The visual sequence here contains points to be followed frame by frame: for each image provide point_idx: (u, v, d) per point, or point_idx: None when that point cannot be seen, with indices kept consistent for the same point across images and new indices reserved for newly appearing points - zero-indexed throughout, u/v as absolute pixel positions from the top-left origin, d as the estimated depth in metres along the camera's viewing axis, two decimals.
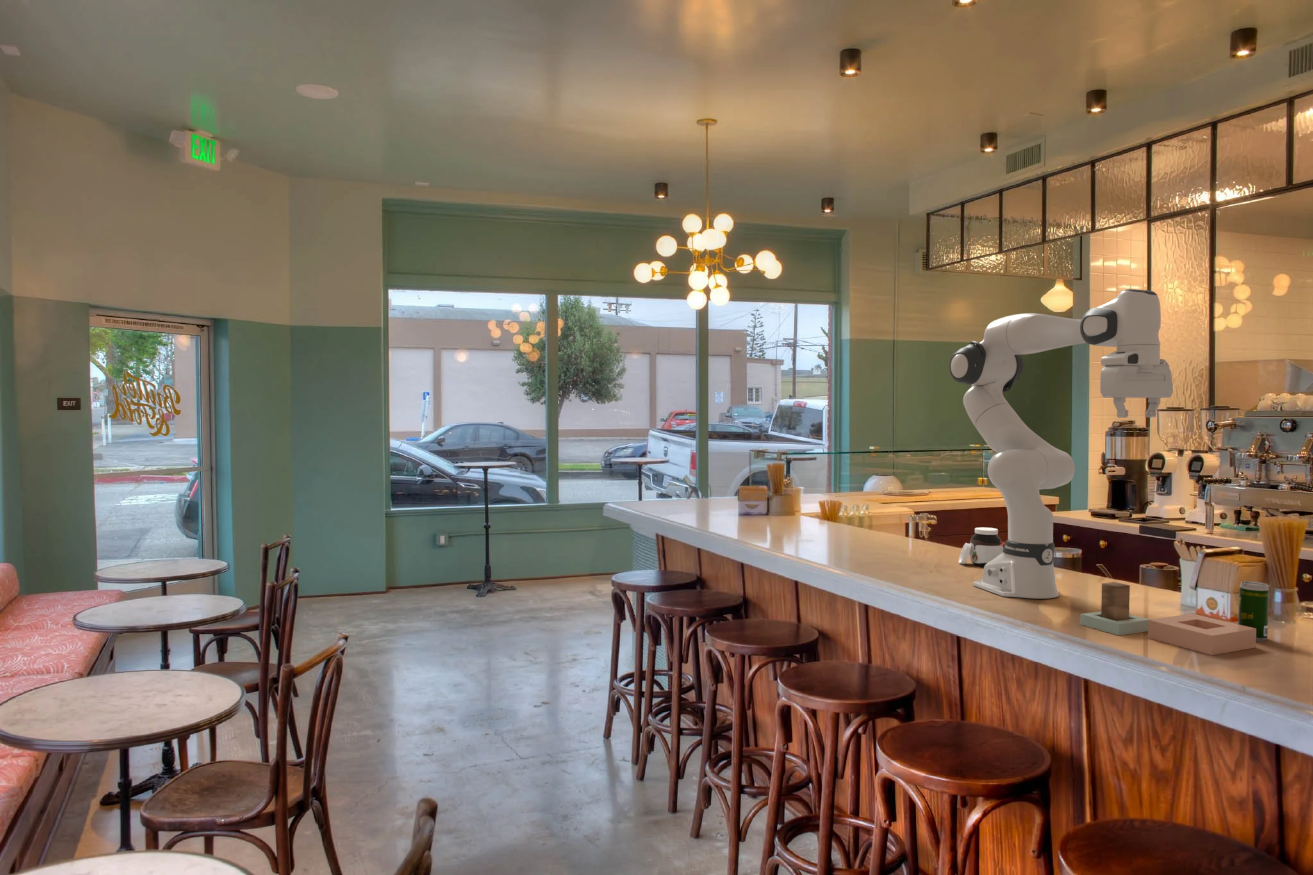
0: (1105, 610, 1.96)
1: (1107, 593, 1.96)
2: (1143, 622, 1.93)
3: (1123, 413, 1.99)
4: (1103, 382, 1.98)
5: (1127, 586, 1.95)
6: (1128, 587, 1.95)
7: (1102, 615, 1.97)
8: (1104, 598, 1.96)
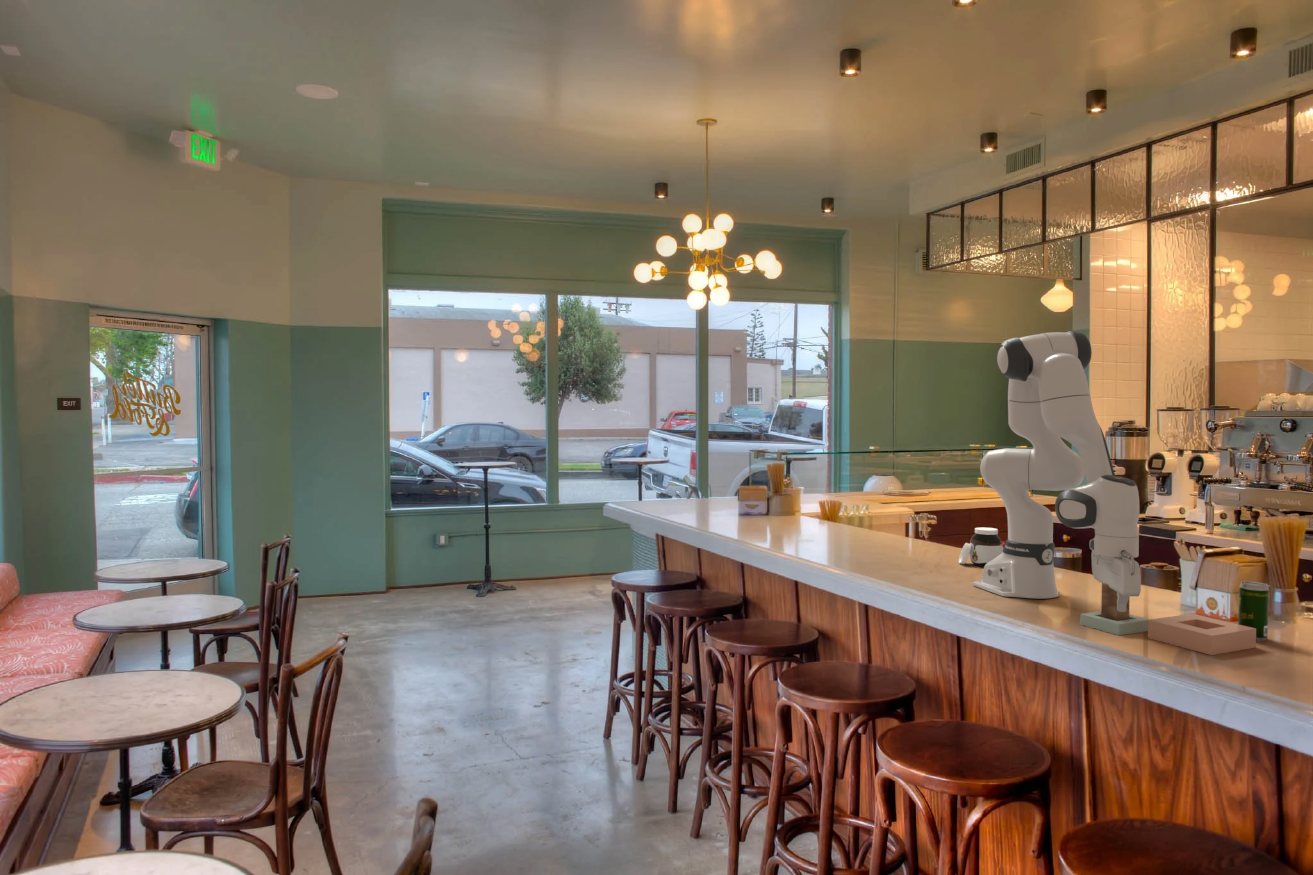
0: (1105, 610, 1.96)
1: (1107, 593, 1.96)
2: (1143, 622, 1.93)
3: None
4: None
5: None
6: None
7: (1102, 615, 1.97)
8: (1104, 598, 1.96)
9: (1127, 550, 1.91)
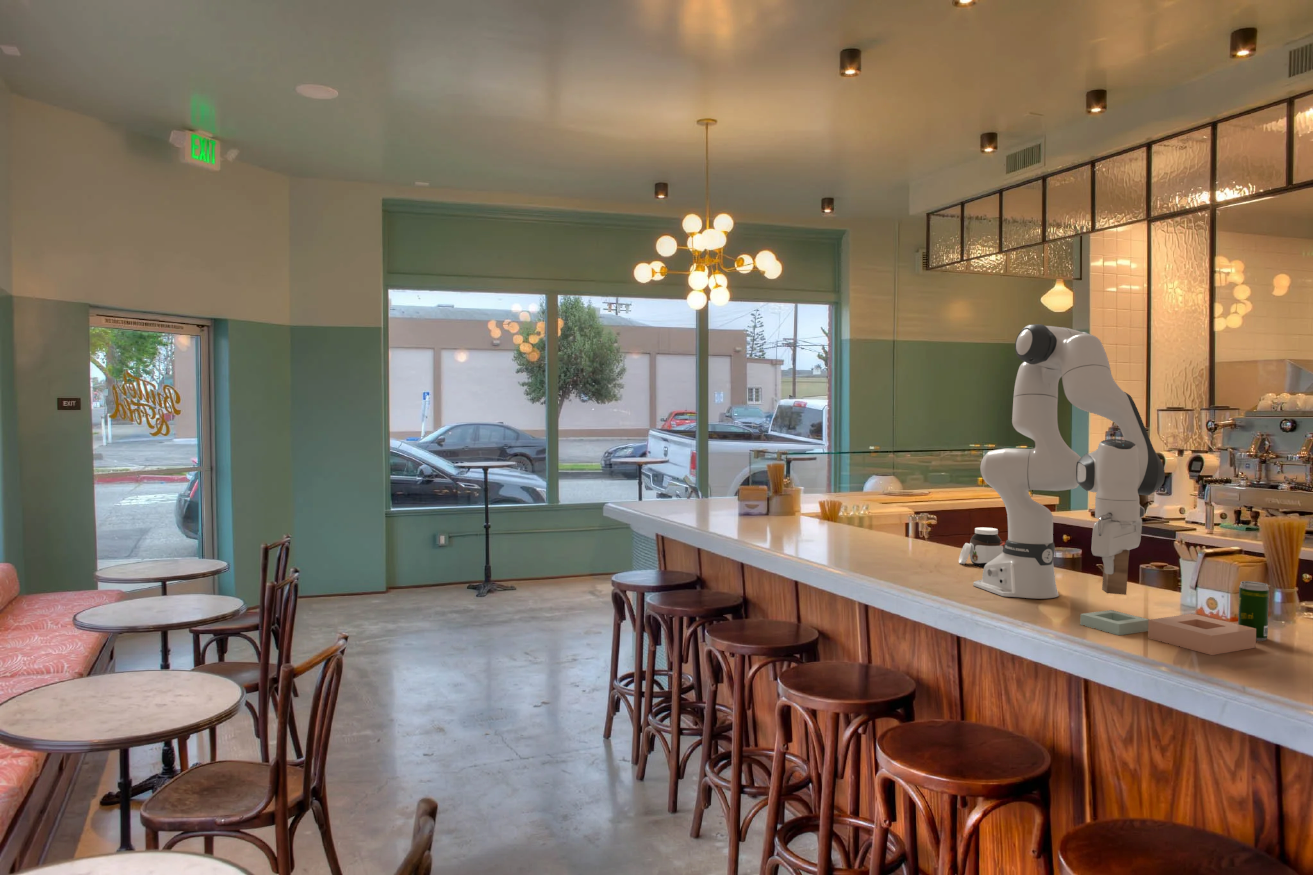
0: (1104, 573, 1.97)
1: None
2: (1143, 622, 1.93)
3: None
4: None
5: (1125, 551, 1.93)
6: (1126, 552, 1.93)
7: (1103, 578, 1.98)
8: None
9: (1113, 513, 1.92)
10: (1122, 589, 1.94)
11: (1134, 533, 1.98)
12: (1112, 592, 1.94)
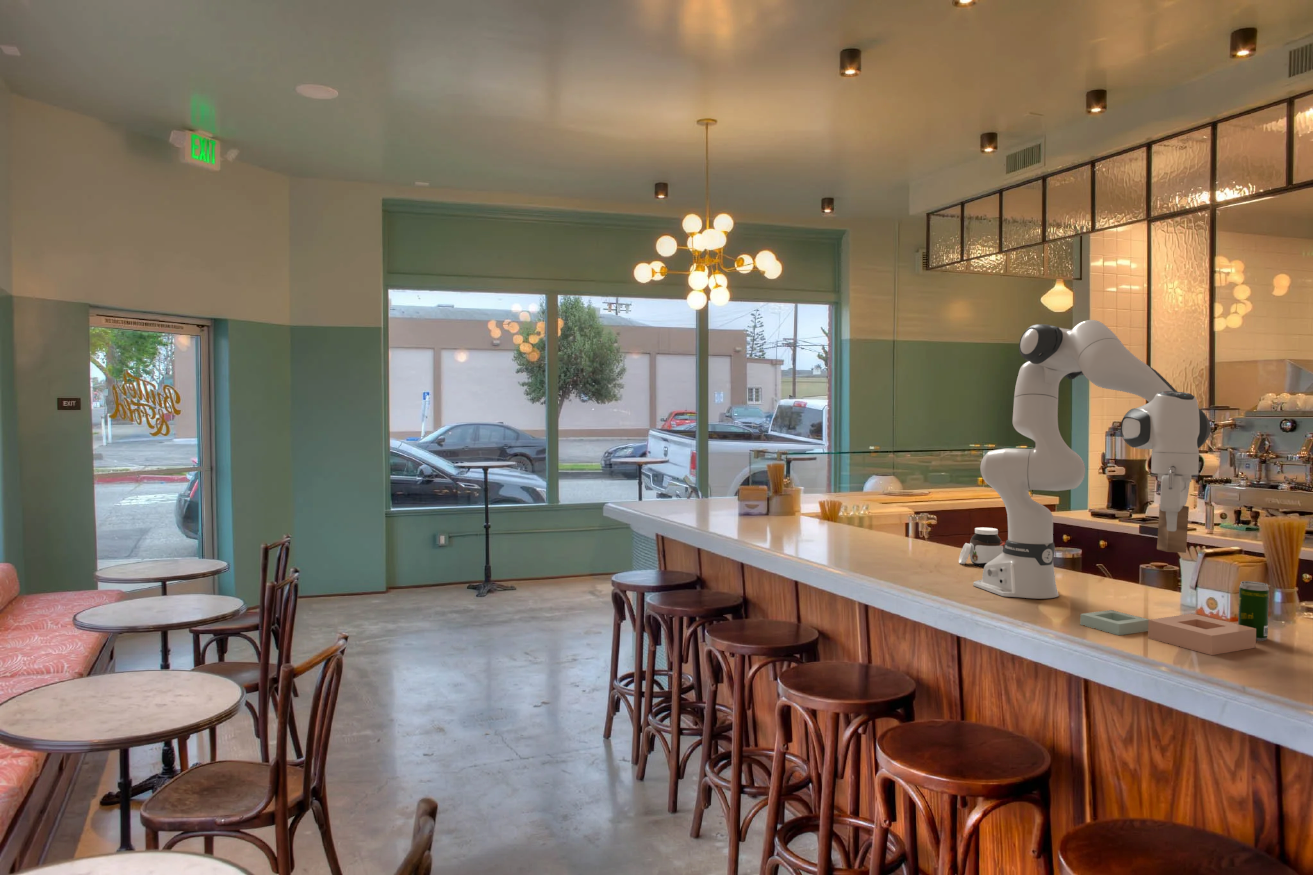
0: (1160, 531, 1.88)
1: (1163, 513, 1.88)
2: (1143, 622, 1.93)
3: None
4: None
5: (1185, 507, 1.85)
6: (1186, 508, 1.85)
7: (1158, 537, 1.89)
8: (1160, 519, 1.89)
9: (1177, 466, 1.83)
10: (1182, 547, 1.85)
11: (1185, 490, 1.91)
12: (1172, 550, 1.85)
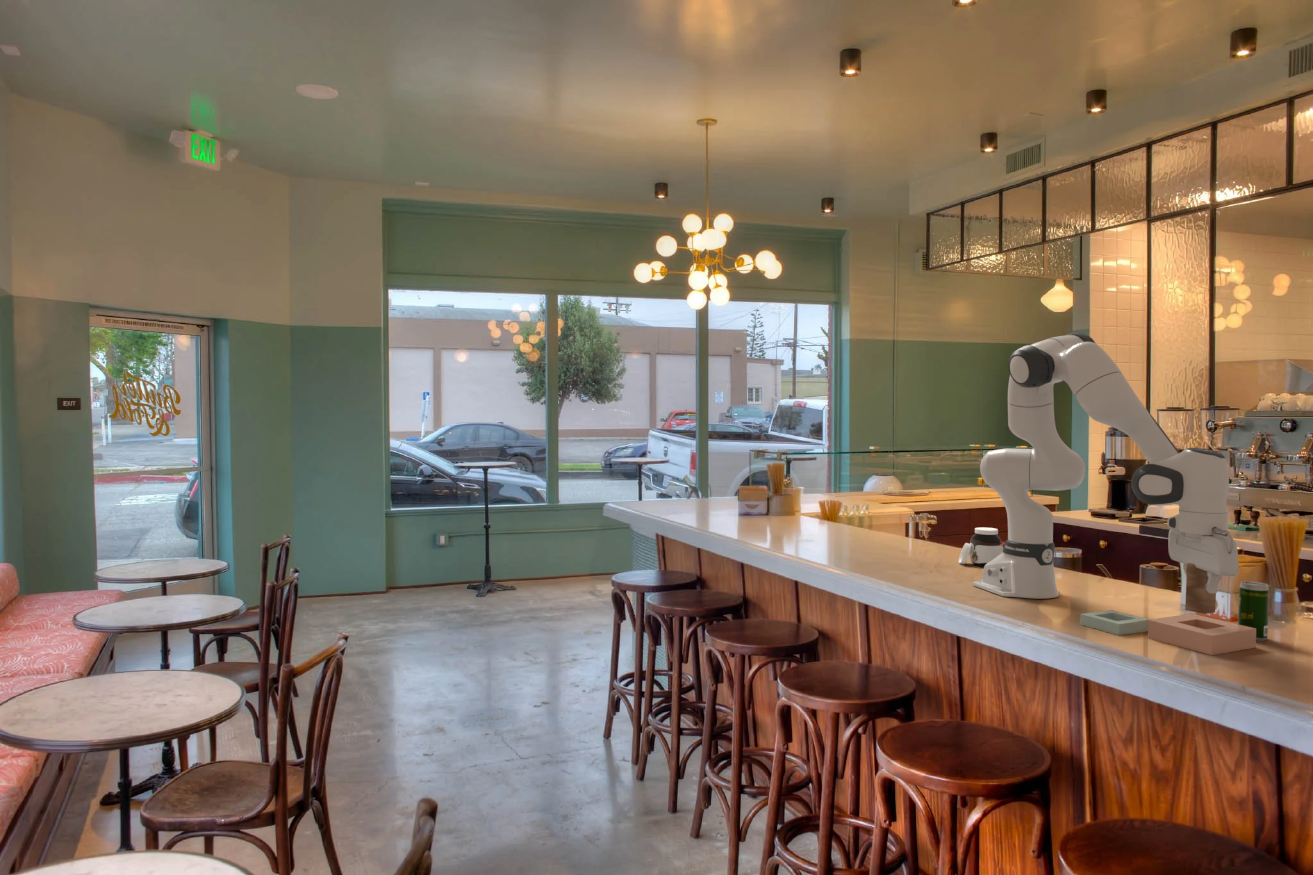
0: (1191, 592, 1.83)
1: (1194, 574, 1.83)
2: (1143, 622, 1.93)
3: None
4: None
5: None
6: None
7: (1187, 598, 1.84)
8: (1190, 579, 1.83)
9: (1218, 527, 1.79)
10: (1213, 607, 1.82)
11: None
12: (1207, 612, 1.81)
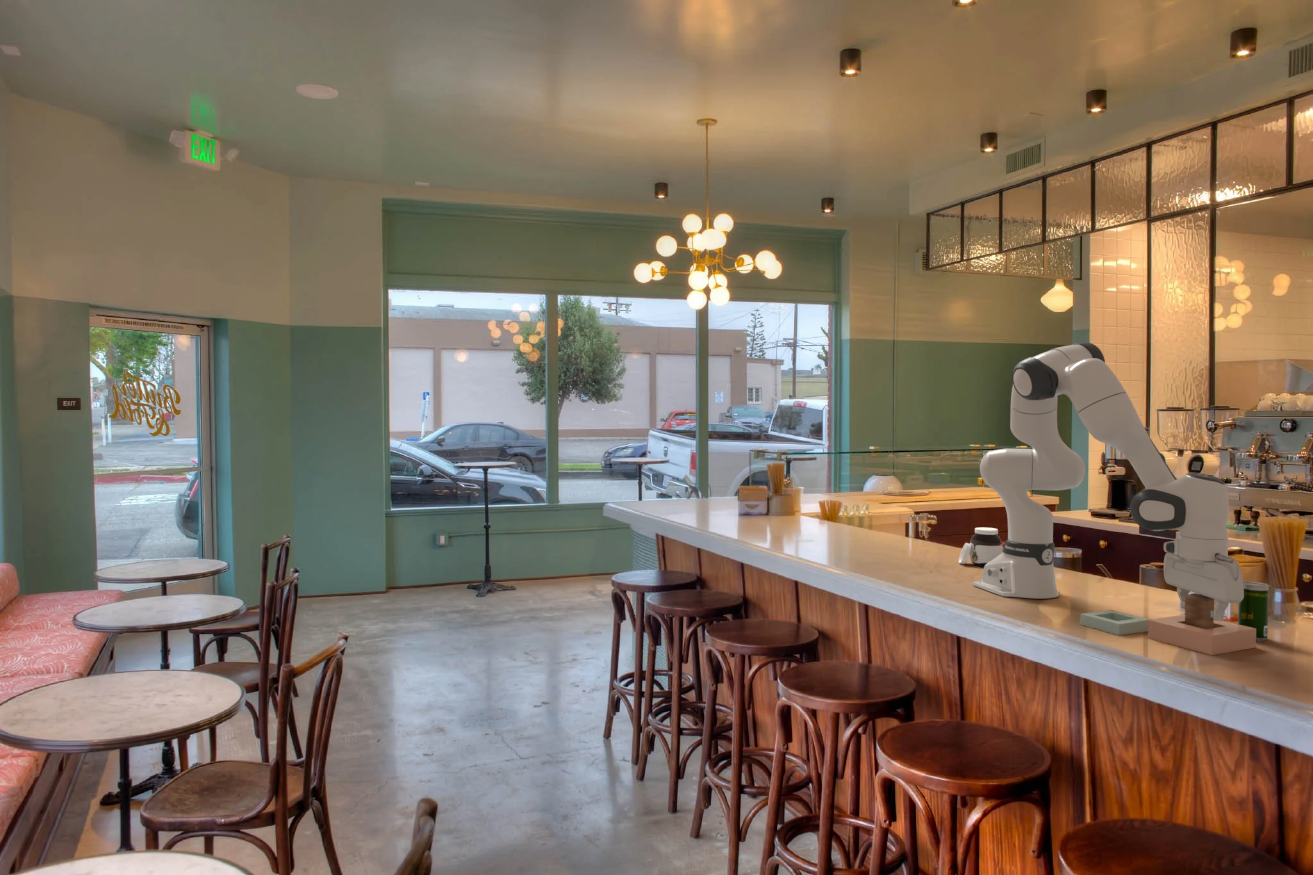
0: (1190, 624, 1.84)
1: (1192, 606, 1.83)
2: (1143, 622, 1.93)
3: None
4: None
5: (1212, 598, 1.83)
6: (1213, 599, 1.83)
7: None
8: (1189, 611, 1.84)
9: (1221, 553, 1.79)
10: None
11: None
12: None
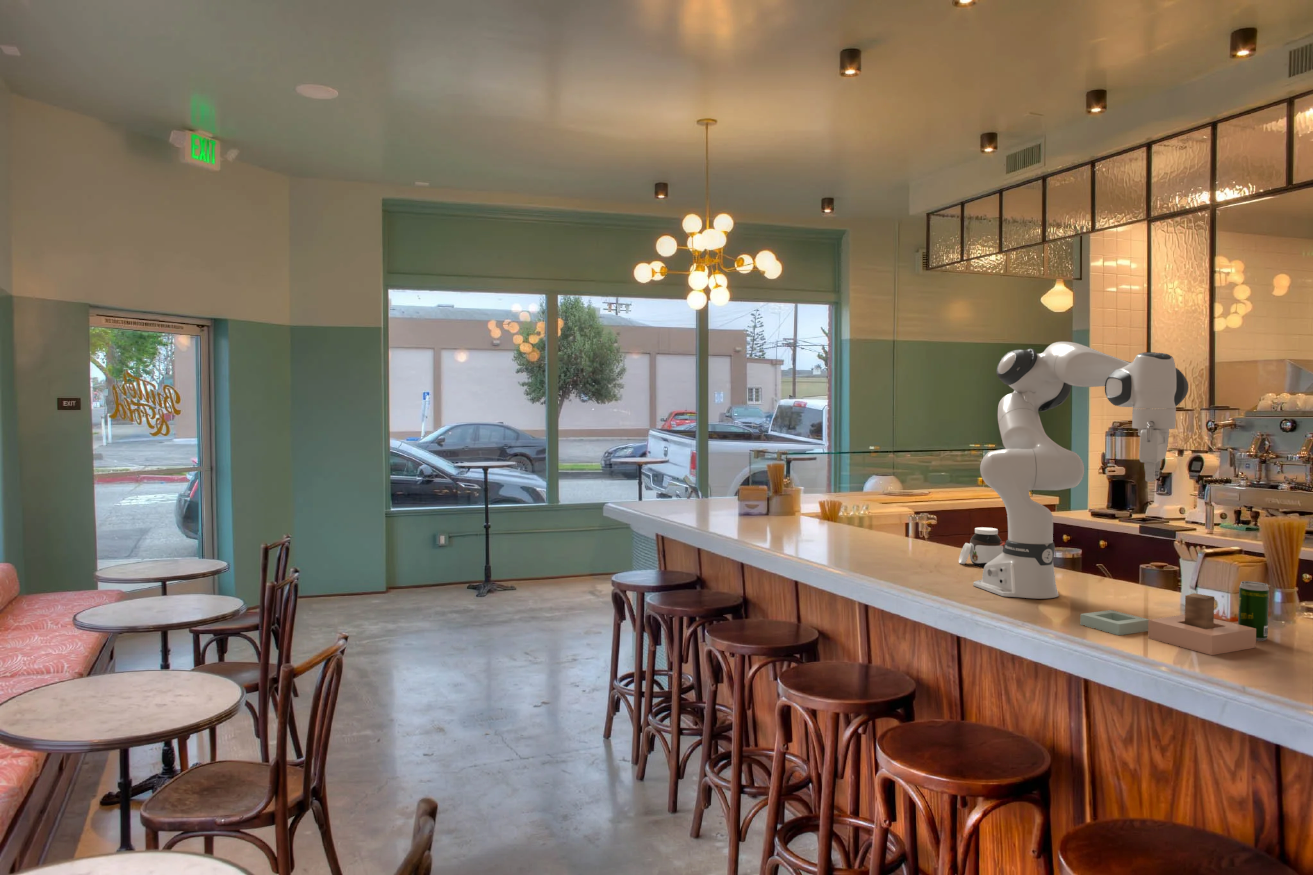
0: (1190, 624, 1.84)
1: (1193, 606, 1.83)
2: (1143, 622, 1.93)
3: None
4: None
5: (1212, 598, 1.83)
6: (1213, 599, 1.83)
7: None
8: (1189, 611, 1.84)
9: (1155, 421, 1.98)
10: None
11: (1164, 444, 2.06)
12: None
